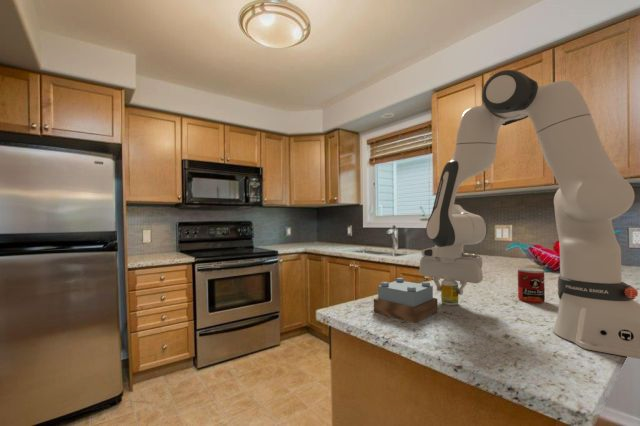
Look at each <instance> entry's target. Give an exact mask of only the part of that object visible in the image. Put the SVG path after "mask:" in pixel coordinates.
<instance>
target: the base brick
mask: <svg viewBox="0 0 640 426" xmlns="http://www.w3.org/2000/svg"><path fill="white" fill-rule="evenodd" d="M438 310H439V309H438V298H437V297H436V298H435V297H433V299H431V300H429V301H427V302H424V303H422V304H420V305H417V306H415V307H412V306H407V305H403V304H398V303H394V302H390V301H385V300H381V299H378V297H376V298H373V312H374V313H377V314H380V315H385V316H388V317H393V318H396V319H398V320H403V321H405V322H411V323H414V324H416V323H418V322H420V321H423V320H424V319H427V318H429V317H430V316H432V315H434V314H436V313H438Z"/></svg>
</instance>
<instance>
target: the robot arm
mask: <svg viewBox="0 0 640 426" xmlns="http://www.w3.org/2000/svg"><path fill="white" fill-rule="evenodd" d="M538 84H539V83H538V82H537V81H536V80H534V79H533V78H531V77H529V76H528V75H526V74H525V73H523V72H520V71H518V70H515V69H514V70H513V69H505V70H501V71H498V72H497V73H494V74H493V75H491V76H490V77H489V78H488V79H487V80H486V81H485V83H484V86H483V87H482V90H481V91H482V92H481V100H482V103H483V104H481V105H478V106H477V105H476V106H472V107H470V108H468V109H466V110H465V111H464V112H463V114H462V115H461V119H460V121H459V125H458V128H457V133H456V140H455V148H454V152H453V154H452V157H451V159H450V160H449V161H448V162H446V163H445V165H444V167H443V169H442V172H441V175H440V178H439V183H438V186H437V190H436V194H435V198H434V202H433V207H432V210H431V214H430V216H429V218H428V220H427V223H426V228H425V231H426V236H427V238H428V239H429V241H430V242H432V244H434V246H431V247H429V248H424V249H422V250H421V258H420V260H419V274H420V275H421V276H422V277H429V278H433V282H434V284H435V286H436V292H437V291H438V292H441V283H440V279H442V280H444V278H445V276H450V279H451V280H455V281H456V282H459V285H460V287H458V289H457V294H458V296H459V295H460V296H463V295H464V289H465V287H467V283H470V284H480V283H481V282H482V281H483V280H484V278H483V277H484V276H483V275H484V274H483V270H482V269H483V268H482V267H483V258H482V257H481V256H480V255H478V254H477V253H467V252H466V253H465V252H464V246H467V245H476V244H480V243H483V242H484V241H485V240H486V238H487V235H488V224H487V222H486V220H485V218H484V217H482V216H481V215H479V214H474V213H472V212H469V211H467V210H465V209H464V208H463V207H462V206H461V204H457V203H455V201H456V197H457V194H458V193H457V192H458V189H459V187H460V186H461V185H462V184H463V183H464V182H465V181H467V180H468V179H470V178H473V177H475V176H478V175H480V174H482V173H484V172H485V171H487V170H488V169H489V168H490V167H491V166H492V165H493V163H494V161H495V159H496V154H497V146H498V145H497V143H498V134H499V130H500V128H501V126H508V125H510V124H513V123H516V122H520V121H523V120H526V119H527V118H529V119H530V121H531V122H532V124H533V127H534V131H535V134H536V137H537V140H538V142H539V145H540V148H541V149H540V150H541V152H542V155H543V158H544V160H545V164H546V165H547V166H548V168H549V169H550V171H551V172H552V175H553V177H554V178H555V180H556V183H557V185H558V189H557V190H556V192H555V194H554V197H553V205H554V206H553V207H554V218H555V224H556V232H557V235H558V236H557V237H558V241H559V243H558V244H559V270H560V271H559V276H558V278H557V295H558V299H559V303H558V310H557V316H556V319H555V323H554V326H553V329H552V332H553V333H554V334H555V335H557V336H558V337H560V338H563V339H564V340H566V341H569V342H572V343H574V344H576V345H577V346H579V347H580V348H582V349H585V350H589V351H595V352H600V353H606V354H610V355H611V354H612V355H617V356H621V357H622V356H623V357H627V358H633V359H638V360H640V303H639V302H638V301H636V300H635V298H637V297H638V296H639V295H638V294H639V292H638V290H637V289H636V288H635V287H633V286H632V285H630V284H627V283H626V282H623V281H622V249H621V245H620V244H619V242H618V239H617V237H616V234H615V230H614V225H613V222H612V220H615V219H616V218H618V217H620V216H622V215H623V214H625V213H626V212H627V211H628V210H629V209H630V208H631V207H632V206H633V204H634V201H635V195H636V194H635V191H634V187H632V185H631V184H630V183H629V181H627V179H624V177H623V176H622V175H621V172H620V171H619V170H618V168H617V166H616V165H615V163H614V162H613V160H612V158H610V155H609V154H608V153H607V150H606V149H605V148H604V146H603V143H602V141H601V138H600V135H599V133H598V130H597V127H596V124H595V122H594V119H593V117H592V114H591V111H590V109H589V106H588V104H587V102H586V100H585V98H584V96H583V95H582V92H580V90H579V88H578V87H577V86H576V85H575V84H574V83H573V82H572V81H569V80H558V81H554V82H551V83H550V82H549V83H548V84H546V85H542V86H539V85H538Z"/></svg>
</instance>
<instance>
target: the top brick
mask: <svg viewBox="0 0 640 426" xmlns="http://www.w3.org/2000/svg"><path fill="white" fill-rule="evenodd" d="M395 279H396V280H394V281H391V282H387V281H381V282H380V285H378V286H377V291H378V292H377V298H378V299H381V300H385V301H390V302H394V303H398V304H403V305H407V306H412V307H415V306H417V305H420V304H422V303H424V302H427V301H429V300H431V299H433V298H434V289H433V285H431V282H429V281H422V282H421V283H418V282H412V281H405V279H404V278H403V277H397V278H395Z"/></svg>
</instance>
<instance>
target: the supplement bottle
mask: <svg viewBox="0 0 640 426" xmlns="http://www.w3.org/2000/svg"><path fill="white" fill-rule="evenodd" d="M440 285H441V291H440V292H441V295H440V297H441V303H442V304H444V305H447V306H457V305H458V304H459V294H457V289H458V288H459V282H458V281H455V280H451V279H450V276H445V278H444V279H442V281H441V283H440Z"/></svg>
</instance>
